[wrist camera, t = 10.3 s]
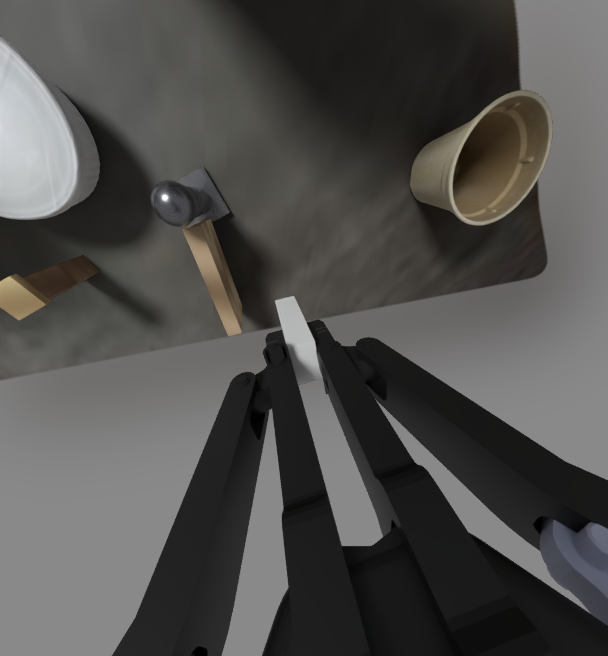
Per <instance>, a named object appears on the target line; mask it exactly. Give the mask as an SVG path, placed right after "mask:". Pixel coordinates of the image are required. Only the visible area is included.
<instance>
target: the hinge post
mask: <svg viewBox="0 0 608 656" xmlns="http://www.w3.org/2000/svg"><path fill="white" fill-rule="evenodd" d="M151 204H152V207H153V210H154V211H155V213H156V214H157V216H158V217H159V218H160V219H161V220H163V221H164V222H166V223H167V224H170V225H172V226H178V227H181V226H186V225H189V226H191V225H192V224H194V223H196V222H198V221H202V220H206V219H211V222H212V223H213V222H214V221H216V220H218V219H219V218H221V217H223V216H225V215H226V214H228V213H230V211H229V209H228V207H227V206H226V204H225V202H224V201H223V199H222V197H221V195H220V194H219V192H218V190H217V189H216V187H215V185H214V184H213V182H212V180H211V179H210V177H209V175H208V173H207V172H206V170H205V168H204V167H203V166H202V167H200V168H199V169H197V170H195V171H194V172H192V173H190V174H188V175H187V176H185V177H183V178H182V179H180V180H178V181H177V182H176V181H171V180H167V181H162V182H160V183H158V184H157V185H156V186H155V187H154V188H153V190H152V192H151Z"/></svg>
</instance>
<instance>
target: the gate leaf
mask: <svg viewBox="0 0 608 656" xmlns="http://www.w3.org/2000/svg"><path fill="white" fill-rule="evenodd" d="M182 230H183V232H184V234H185V237H186V239H187V241H188V244H189V246H190V248H191V251H192V253H193V255H194V258H195V260H196V262H197V264H198V267H199V269H200V271H201V274H202V276H203V278H204V281H205V283H206V285H207V288H208V290H209V292H210V295H211V297H212V299H213V301H214V304H215V306H216V308H217V311H218V313H219V315H220V318H221V320H222V322H223V325H224V327H225V329H226V331H227V334H228V336H231V335H235V334H239V333H242V329H241V324H242V304H241V301H240V299H239V296H238V293H237V290H236V288H235V285H234V282H233V279H232V277H231V274H230V271H229V268H228V266H227V263H226V260H225V257H224V255H223V252H222V249H221V246H220V244H219V241H218V238H217V235H216V233H215V230H214V227H213V224H212V222H211V219H206V220H202V221H198V222H196V223H194V224H192V225H191V226H189V227H187V228H185V229H182Z"/></svg>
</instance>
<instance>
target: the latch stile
mask: <svg viewBox="0 0 608 656" xmlns="http://www.w3.org/2000/svg"><path fill="white" fill-rule="evenodd" d="M99 272H100V271H99V270H98V269H97V268H96V267H95V266H94V265H93V264H92V263H91V262H90V261H89V260H87V259H86V258H85V257H84V256H83V255H82V256H80V257H77V258H74V259H71V260H69V261H66V262H63V263H60V264H58V265H55V266H52V267H49V268H47V269H44V270H41V271H38V272H36V273H33V274H30V275H27V276H25V277H22V278H21V277H20V276H19V275H18V274H14V275H11V276H9V277H7V278H5V279H4V280H2V281H0V308H2V309H3V310H5V311H6V312H8V313H9V314H10V315H12V316H13V317H15V318H16V319H18V320H21V319H23V318H25V317H26V316H28V315H30V314H32V313H33V312H35V311H37V310H38V309H40V308H42V307H44V306H45V305H47V304H49V303H51V302H52V301H50V300H49V299H51V298H53V297H55V296H57V295H59V294H61V293H62V292H64V291H66V290H68V289H70V288H72V287H74V286H76V285H78V284H80V283H82V282H83V281H85V280H87V279H89V278H91V277H92V276H94V275H96V274H97V273H99Z"/></svg>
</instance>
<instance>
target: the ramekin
mask: <svg viewBox="0 0 608 656" xmlns="http://www.w3.org/2000/svg"><path fill="white" fill-rule="evenodd" d="M99 168H100V162H99V154H98V152H97V146H96V144H95V141H94V138H93V136H92V134H91V132H90V129H89V127H88V126H87V124H86V122H85V120H84V119H83V117H82V116H81V115H80V113H79V112H78V110H77V109H76V107H75V106H74V105H73V104H72V103H71V102H70V101H69V99H68V98H67V97H66V96H65V95H64V94H63V93H62V92H61V91H60V90H59V89H58V88H57V87H56V86H55V85H54V84H53V83H52V82H50V81H49V80H48V79H47V78H46V77H45V76H43V75H42V74H41V73H40V72H39V71H38V70H37V69H36V68H35V67H34V66H33V65H32V64H31V63H30V62H29V61H28V59H26V58H25V57H24V56H23V55H22V54H21V53H20V52H19V51H18V50H17V49H16V48H14V47H13V46H12V45H11V44H10V43H8V42H7V41H6V40H5V39H3V38H2V37H1V36H0V217H4V218H10V219H18V220H35V219H44V218H49V217H53V216H56V215H58V214H61V213H63V212H64V211H66V210H68V209H69V208H70V207H71V206H73V205H76V204H78V203H79V202H81V201H83V200H85V199H86V197H88V196H89V195H90V194H91V193H92V192H93V191H94V188H95V187H96V185H97V181H98V179H99V173H100V169H99Z"/></svg>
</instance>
